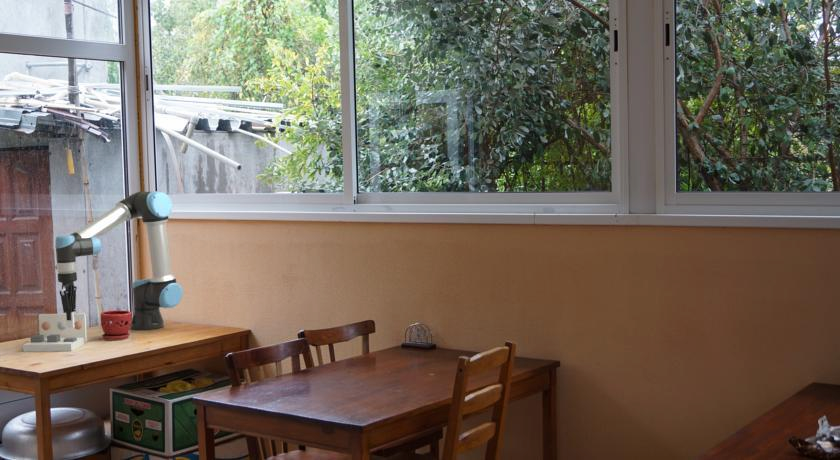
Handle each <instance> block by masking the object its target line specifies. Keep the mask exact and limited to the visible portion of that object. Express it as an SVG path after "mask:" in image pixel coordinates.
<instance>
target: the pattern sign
mask: <svg viewBox="0 0 840 460" xmlns="http://www.w3.org/2000/svg"><path fill="white" fill-rule="evenodd" d="M76 313H77V314H74V325H75V327H74V328H67V322H66V313H38V329H39V330H38V332H39V333H38V335H44V338H47V336H49V335H55V334H60V338H74V337H77V338H84V342H87V341H88V338H87V317H86V316H87V315H86V313H83V312H76Z"/></svg>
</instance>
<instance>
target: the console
mask: <svg viewBox="0 0 840 460" xmlns="http://www.w3.org/2000/svg"><path fill="white" fill-rule="evenodd" d="M64 339H65V338H60V341H58V342H47V338H44V341H43V342H36V343H31V341H29V342H27V343H24V344H23V345H22V348H23V353H31V352H32V353H34V352H36V353H37V352H39V353H41V352H42V353H43V352H73V351H74V350H77V349H78V348H80V347H82V346H84V344H85V341H84V338H77V340H76V341H74V342H64Z"/></svg>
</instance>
